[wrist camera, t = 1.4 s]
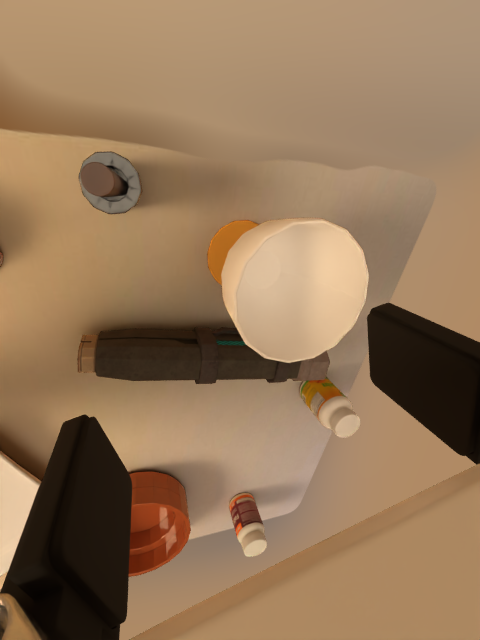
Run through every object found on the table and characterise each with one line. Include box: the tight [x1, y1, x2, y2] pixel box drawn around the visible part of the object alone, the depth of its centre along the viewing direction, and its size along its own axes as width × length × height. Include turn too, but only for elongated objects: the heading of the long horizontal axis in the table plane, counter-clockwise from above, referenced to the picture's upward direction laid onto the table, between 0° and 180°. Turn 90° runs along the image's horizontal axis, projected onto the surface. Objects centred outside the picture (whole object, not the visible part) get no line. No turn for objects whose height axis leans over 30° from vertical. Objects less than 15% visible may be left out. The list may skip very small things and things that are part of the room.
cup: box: [207, 218, 369, 363], centre depth 31 cm, size 12×12×17 cm
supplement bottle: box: [300, 377, 360, 438], centre depth 46 cm, size 5×5×10 cm
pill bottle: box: [229, 493, 267, 557], centre depth 52 cm, size 5×5×8 cm
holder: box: [79, 152, 142, 214], centre depth 28 cm, size 4×4×9 cm
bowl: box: [129, 472, 191, 577], centre depth 46 cm, size 15×15×6 cm
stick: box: [80, 162, 128, 196], centre depth 24 cm, size 2×2×16 cm
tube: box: [78, 327, 330, 384], centre depth 38 cm, size 11×7×30 cm
